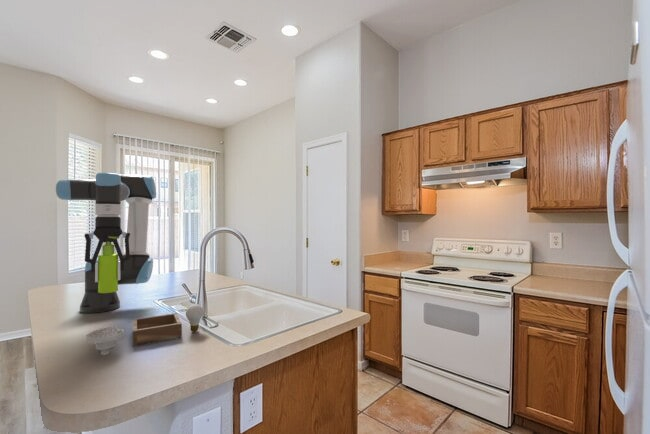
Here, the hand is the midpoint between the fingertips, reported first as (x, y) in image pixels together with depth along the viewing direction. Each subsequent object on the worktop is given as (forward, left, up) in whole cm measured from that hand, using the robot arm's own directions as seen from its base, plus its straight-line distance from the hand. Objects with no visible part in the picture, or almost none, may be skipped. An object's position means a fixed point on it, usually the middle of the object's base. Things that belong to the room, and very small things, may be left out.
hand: (108, 280), depth 113 cm
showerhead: (+20, +1, -19) cm, 28 cm away
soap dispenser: (0, 0, -4) cm, 4 cm away
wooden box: (+11, +15, -19) cm, 27 cm away
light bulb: (+14, +27, -19) cm, 36 cm away
